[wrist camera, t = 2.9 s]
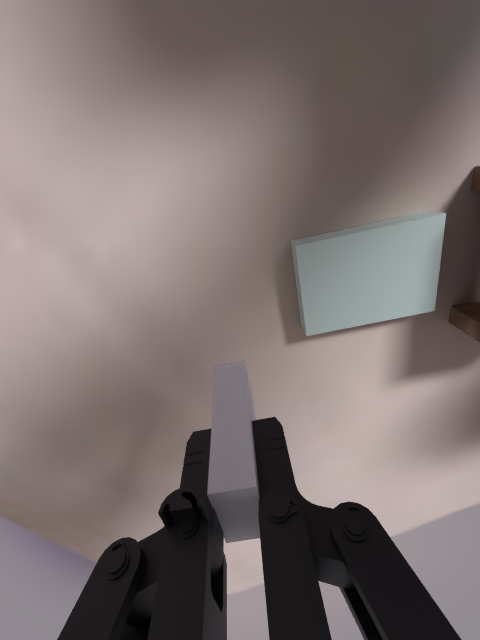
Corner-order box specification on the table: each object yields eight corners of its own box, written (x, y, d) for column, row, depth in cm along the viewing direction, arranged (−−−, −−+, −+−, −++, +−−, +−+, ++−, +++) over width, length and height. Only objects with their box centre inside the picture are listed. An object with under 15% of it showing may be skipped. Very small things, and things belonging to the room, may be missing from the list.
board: (289, 239, 23) (295, 246, 21) (424, 209, 22) (446, 213, 20) (300, 323, 27) (306, 336, 25) (417, 299, 26) (434, 310, 24)
